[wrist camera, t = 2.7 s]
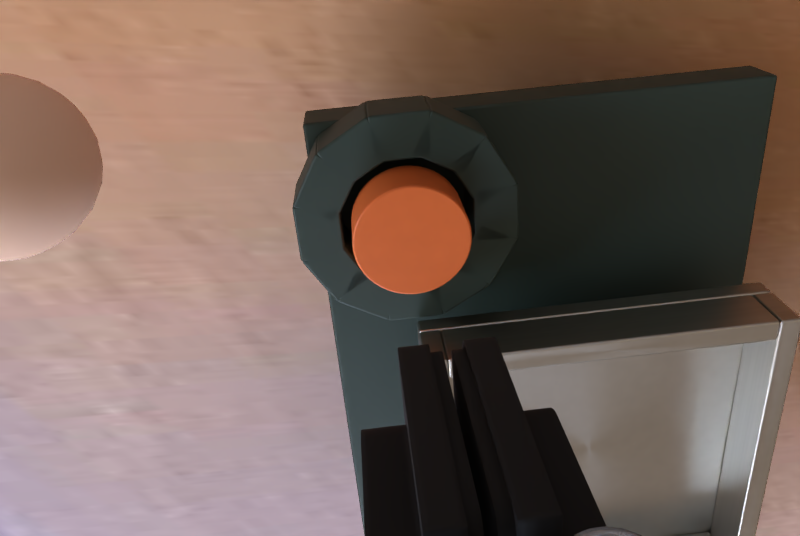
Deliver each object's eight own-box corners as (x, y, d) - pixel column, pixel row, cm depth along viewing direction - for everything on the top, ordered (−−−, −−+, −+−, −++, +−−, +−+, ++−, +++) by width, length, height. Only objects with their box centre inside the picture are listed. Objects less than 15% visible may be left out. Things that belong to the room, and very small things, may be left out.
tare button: (344, 170, 18) (345, 192, 16) (460, 158, 18) (470, 179, 17) (357, 273, 19) (359, 301, 18) (464, 261, 19) (474, 288, 18)
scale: (286, 96, 19) (278, 125, 17) (753, 49, 20) (817, 70, 17) (352, 516, 27) (354, 582, 24) (690, 475, 28) (727, 535, 25)
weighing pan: (416, 320, 20) (424, 362, 18) (760, 281, 20) (803, 319, 18) (436, 561, 24) (444, 616, 22) (715, 527, 25) (746, 577, 23)
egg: (151, 120, 20) (101, 187, 15) (75, 238, 21) (6, 338, 16) (-5, 20, 18) (-122, 57, 13) (-78, 155, 19) (-210, 236, 14)
